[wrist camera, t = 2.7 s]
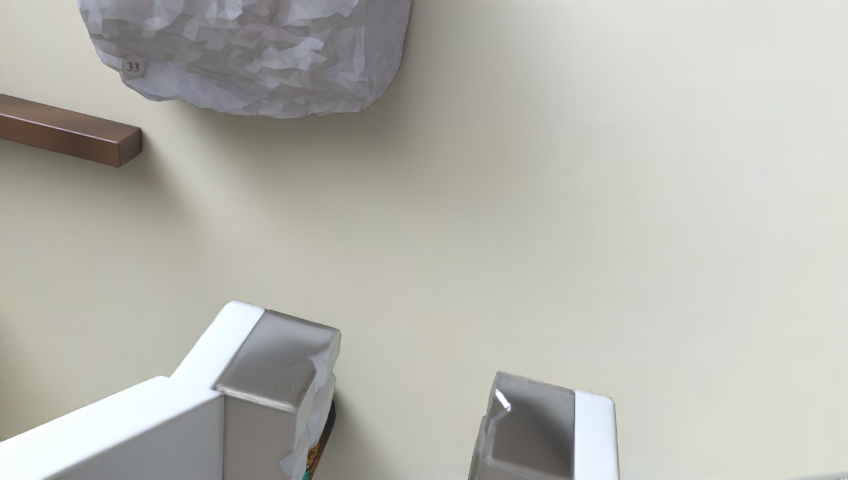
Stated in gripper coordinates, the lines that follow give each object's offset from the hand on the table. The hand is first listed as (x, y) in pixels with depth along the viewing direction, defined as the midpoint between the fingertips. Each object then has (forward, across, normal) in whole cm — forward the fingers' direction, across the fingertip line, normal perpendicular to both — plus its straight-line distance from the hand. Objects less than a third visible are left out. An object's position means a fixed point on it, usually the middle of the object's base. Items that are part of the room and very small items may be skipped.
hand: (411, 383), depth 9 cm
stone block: (+19, -10, 0) cm, 22 cm away
